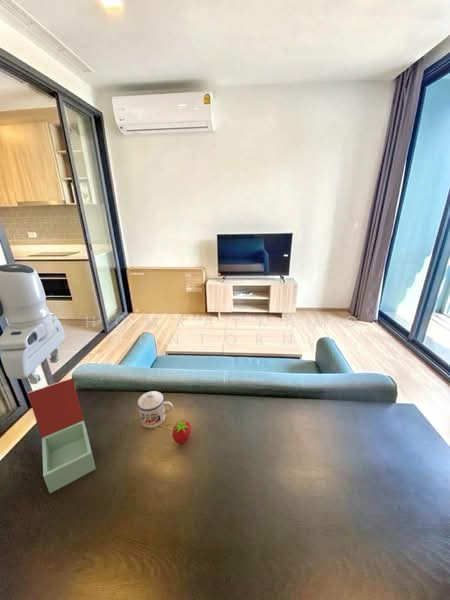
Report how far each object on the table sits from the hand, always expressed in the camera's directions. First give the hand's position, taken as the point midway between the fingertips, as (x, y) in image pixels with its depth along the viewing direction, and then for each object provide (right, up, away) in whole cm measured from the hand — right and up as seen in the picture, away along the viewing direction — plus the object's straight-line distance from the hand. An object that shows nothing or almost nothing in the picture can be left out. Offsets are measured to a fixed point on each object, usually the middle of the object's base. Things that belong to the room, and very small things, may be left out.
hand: (46, 371), depth 69 cm
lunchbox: (+2, -30, +8) cm, 31 cm away
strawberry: (+36, -28, +13) cm, 48 cm away
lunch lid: (-3, -14, +9) cm, 17 cm away
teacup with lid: (+25, -24, +23) cm, 42 cm away
